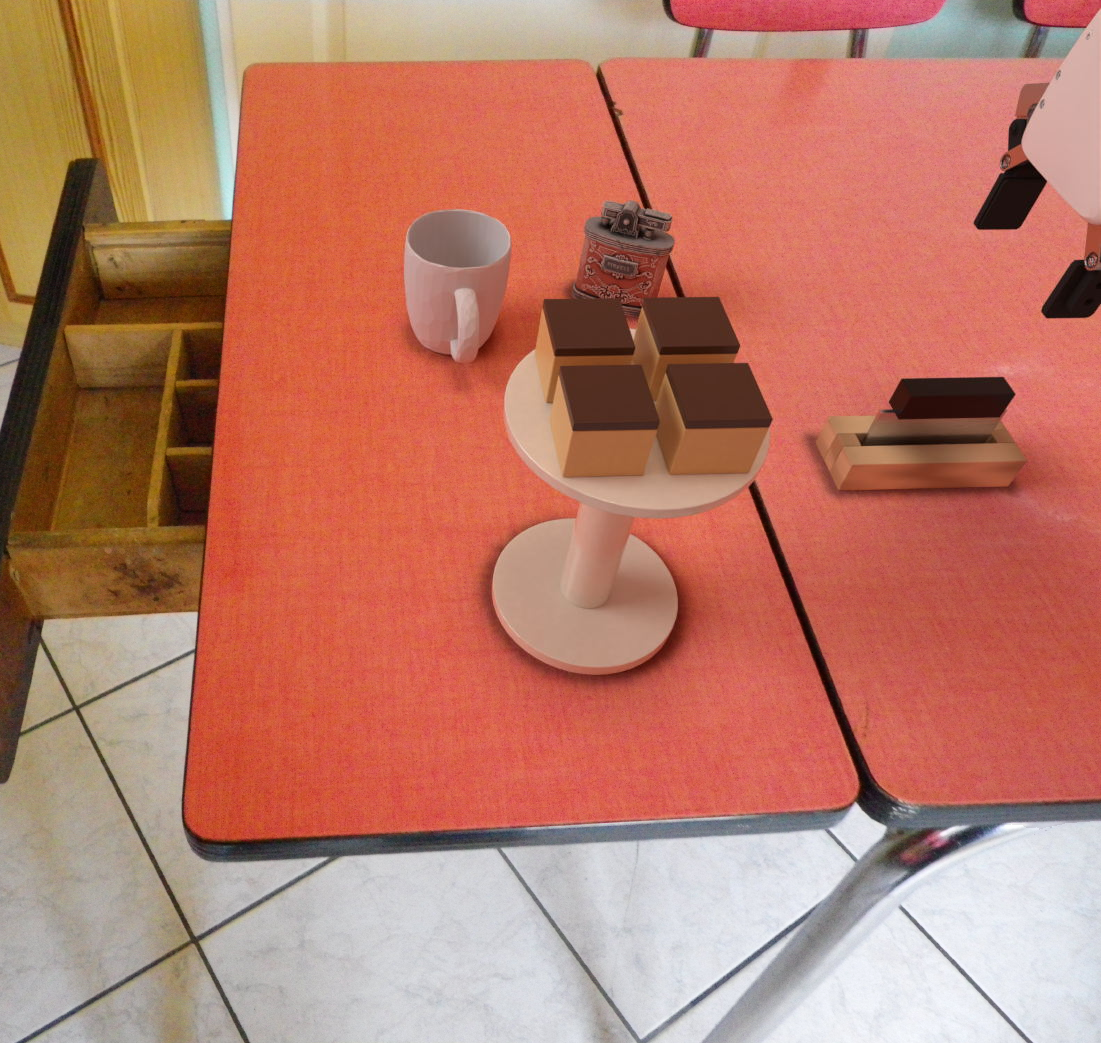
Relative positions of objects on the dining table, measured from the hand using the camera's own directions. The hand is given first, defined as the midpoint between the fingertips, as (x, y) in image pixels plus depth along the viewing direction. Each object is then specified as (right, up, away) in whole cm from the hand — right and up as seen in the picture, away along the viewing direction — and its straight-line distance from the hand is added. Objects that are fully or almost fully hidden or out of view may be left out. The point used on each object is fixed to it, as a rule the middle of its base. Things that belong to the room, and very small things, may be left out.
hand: (1028, 269), depth 64 cm
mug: (-37, -1, +22) cm, 43 cm away
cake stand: (-29, -22, +4) cm, 37 cm away
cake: (-28, -11, -9) cm, 32 cm away
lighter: (-22, +4, +27) cm, 35 cm away
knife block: (-1, -12, +14) cm, 19 cm away
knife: (-1, -12, +14) cm, 19 cm away
